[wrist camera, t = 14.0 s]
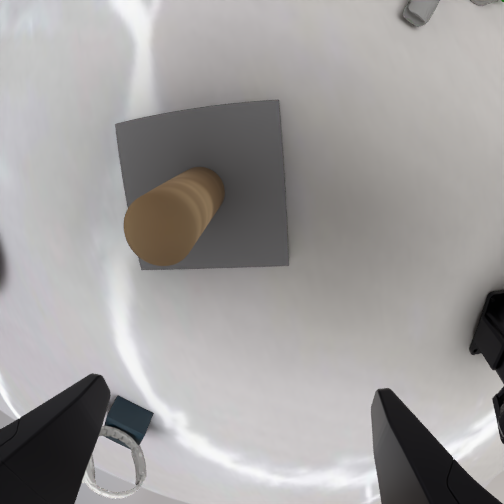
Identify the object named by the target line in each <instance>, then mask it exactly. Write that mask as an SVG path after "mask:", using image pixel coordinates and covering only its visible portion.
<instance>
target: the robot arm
mask: <svg viewBox="0 0 504 504" xmlns="http://www.w3.org/2000/svg"><path fill="white" fill-rule="evenodd" d="M470 353H471V354H472V355H475V354H479V353H482V354H483V356H484V357H485V359H486V360H487V362H488V364H489V365H490V367H491V369H492V370H496V372H497V373H498V375H499V377H500V378H501V380H502V382H503V384H504V290H503V291H496V292H491V293H490V294H489V295H488V297H487V300H486V303H485V306H484V309H483V313H482V316H481V319H480V322H479V325H478V328H477V331H476V333H475V336H474V339H473V342H472V344H471V347H470ZM109 399H110V390H109V388H108V386H107V384H106V382H105V380H104V378H103V376H101V375H98V374H90V375H88V376H86V377H85V378H83V379H82V380H80V381H79V382H77V383H75V384H74V385H72V386H71V387H69V388H67V389H66V390H64V391H63V392H61V393H59V394H58V395H56V396H55V397H53V398H51V399H50V400H48V401H47V402H45V403H43V404H42V405H40V406H39V407H37V408H35V409H34V410H32V411H30V412H29V413H27V414H26V415H24V416H22V417H21V418H20V419H17V420H16V421H14V422H13V423H11V424H9V425H7V426H6V427H4V428H2V429H0V504H74V503H75V500H76V497H77V494H78V491H79V488H80V486H81V483H82V480H83V477H84V474H85V471H86V469H87V466H88V463H89V460H90V458H91V455H92V452H93V450H94V447H95V444H96V442H97V439H98V437H99V434H100V431H101V428H102V424H103V421H104V417H105V413H106V410H107V406H108V403H109ZM492 400H493V404H494V409H495V414H496V418H497V423H498V429H499V434H500V438H501V441H502V443H503V444H504V387H503V388H502V389H501V390H500V391H499V393H498V394H496V395H495V396H494V397H493V398H492ZM371 418H372V433H373V450H374V459H375V465H376V471H377V477H378V483H379V489H380V496H381V503H382V504H502V503H501V502H500V501H499V500H498V499H496V498H495V497H494V496H492V495H491V494H490V493H489V492H488V491H487V490H485V489H484V488H483V487H482V486H481V485H480V484H479V483H477V482H476V481H475V480H474V479H473V478H472V477H471V476H470V475H469V474H468V473H467V472H466V471H465V470H464V469H463V468H462V467H461V466H460V465H459V464H458V462H457V461H456V460H453V457H452V456H451V455H450V454H449V453H448V452H447V450H446V449H445V448H444V447H443V446H442V445H441V444H440V443H439V442H438V440H437V439H436V438H435V437H434V436H433V435H432V434H431V433H430V432H429V431H428V429H427V428H426V427H425V426H424V425H423V424H422V423H421V422H420V421H419V420H418V418H417V417H416V416H415V415H414V414H413V413H412V412H411V411H410V410H409V409H408V408H407V406H406V405H405V404H404V403H403V402H402V401H401V400H400V399H399V398H398V397H397V396H396V394H395V393H394V392H393V391H392V390H391V389H389V388H384V389H378V390H377V391H376V392H375V396H374V399H373V402H372V406H371Z"/></svg>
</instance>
